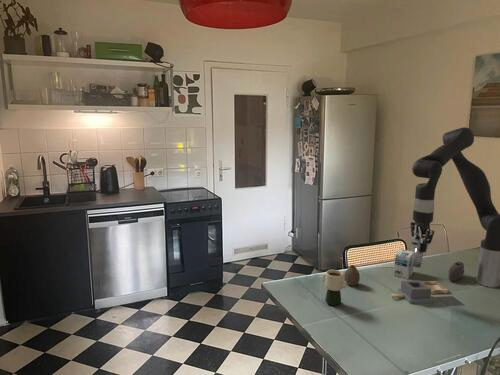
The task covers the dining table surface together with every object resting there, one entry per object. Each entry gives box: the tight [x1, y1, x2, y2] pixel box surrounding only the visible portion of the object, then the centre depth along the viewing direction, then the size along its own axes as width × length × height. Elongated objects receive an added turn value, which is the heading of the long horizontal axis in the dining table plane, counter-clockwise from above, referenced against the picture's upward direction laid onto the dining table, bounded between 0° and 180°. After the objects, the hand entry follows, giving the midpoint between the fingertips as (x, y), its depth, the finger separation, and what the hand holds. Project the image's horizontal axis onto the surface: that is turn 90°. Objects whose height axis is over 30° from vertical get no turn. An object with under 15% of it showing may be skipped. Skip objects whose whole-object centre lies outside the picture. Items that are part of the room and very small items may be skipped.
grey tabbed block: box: [411, 238, 430, 268], centre depth 153 cm, size 4×7×11 cm, turn 95°
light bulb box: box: [393, 248, 415, 280], centre depth 181 cm, size 11×7×11 cm, turn 143°
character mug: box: [322, 269, 348, 306], centre depth 150 cm, size 11×7×13 cm, turn 45°
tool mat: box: [435, 295, 465, 307], centre depth 154 cm, size 8×8×1 cm
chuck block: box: [391, 279, 434, 304], centre depth 156 cm, size 15×10×6 cm, turn 95°
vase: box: [344, 264, 361, 287], centre depth 168 cm, size 7×7×9 cm
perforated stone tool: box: [447, 261, 465, 282], centre depth 176 cm, size 15×5×7 cm, turn 134°
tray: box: [422, 280, 450, 294], centre depth 165 cm, size 9×9×2 cm
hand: (419, 249), depth 152 cm, fingers closed on grey tabbed block, 4 cm apart
